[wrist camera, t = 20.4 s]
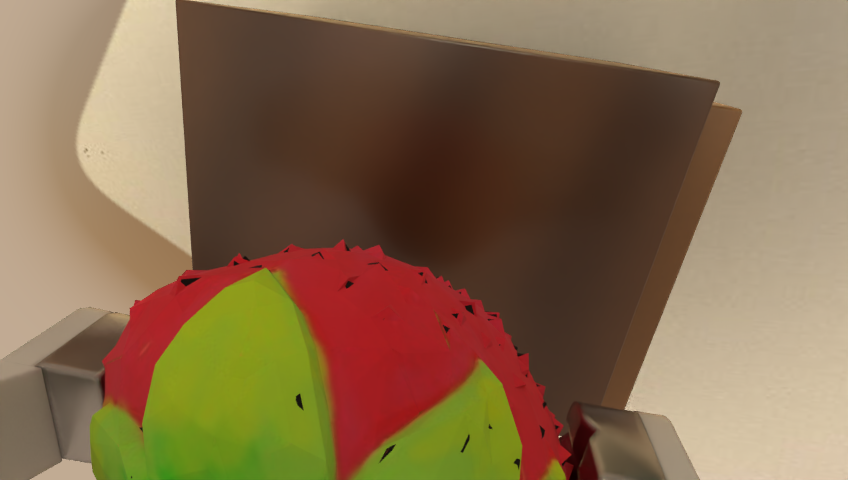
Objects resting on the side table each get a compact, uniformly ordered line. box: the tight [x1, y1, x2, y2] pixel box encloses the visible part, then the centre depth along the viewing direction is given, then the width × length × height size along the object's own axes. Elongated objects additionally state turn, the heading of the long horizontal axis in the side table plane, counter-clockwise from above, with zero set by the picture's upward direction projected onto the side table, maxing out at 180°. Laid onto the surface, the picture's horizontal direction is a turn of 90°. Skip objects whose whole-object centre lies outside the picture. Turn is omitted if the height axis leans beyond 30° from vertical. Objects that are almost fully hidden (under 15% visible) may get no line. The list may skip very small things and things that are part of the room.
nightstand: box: [176, 0, 720, 436], centre depth 18 cm, size 14×12×10 cm
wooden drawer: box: [601, 102, 742, 410], centre depth 18 cm, size 14×10×8 cm
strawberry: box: [90, 239, 574, 480], centre depth 7 cm, size 6×7×10 cm
